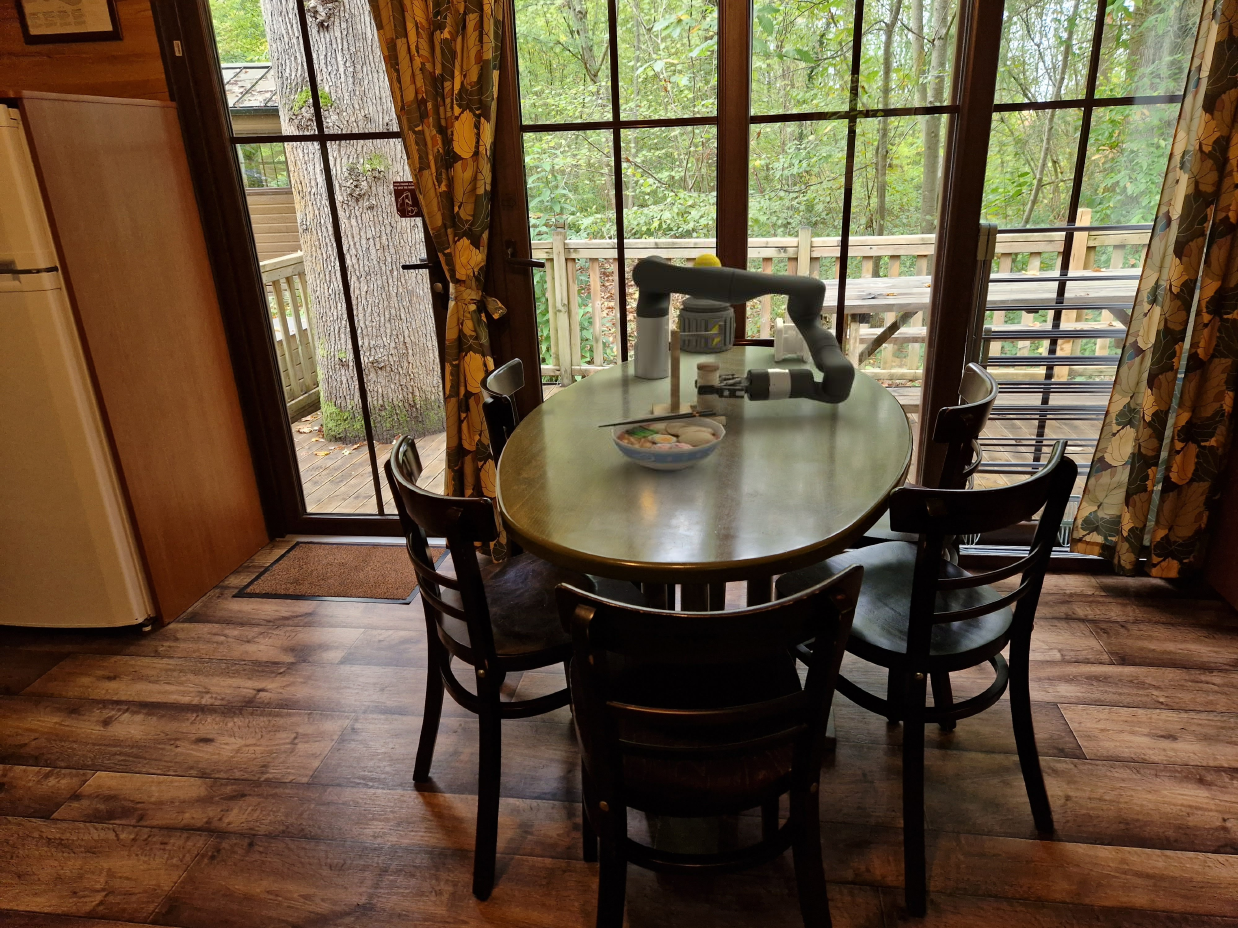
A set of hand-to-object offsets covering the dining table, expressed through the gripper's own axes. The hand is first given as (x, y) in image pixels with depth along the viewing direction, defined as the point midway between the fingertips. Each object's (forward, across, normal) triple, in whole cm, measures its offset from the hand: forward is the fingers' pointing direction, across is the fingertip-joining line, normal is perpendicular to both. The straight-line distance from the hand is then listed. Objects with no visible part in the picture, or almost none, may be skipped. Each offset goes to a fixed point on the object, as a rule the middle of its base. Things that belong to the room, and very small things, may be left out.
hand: (696, 387), depth 185 cm
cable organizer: (-36, -56, +8) cm, 67 cm away
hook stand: (+2, 0, +7) cm, 8 cm away
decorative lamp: (-13, -76, +8) cm, 77 cm away
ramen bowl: (+10, +31, +8) cm, 34 cm away
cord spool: (-3, 0, +7) cm, 7 cm away
